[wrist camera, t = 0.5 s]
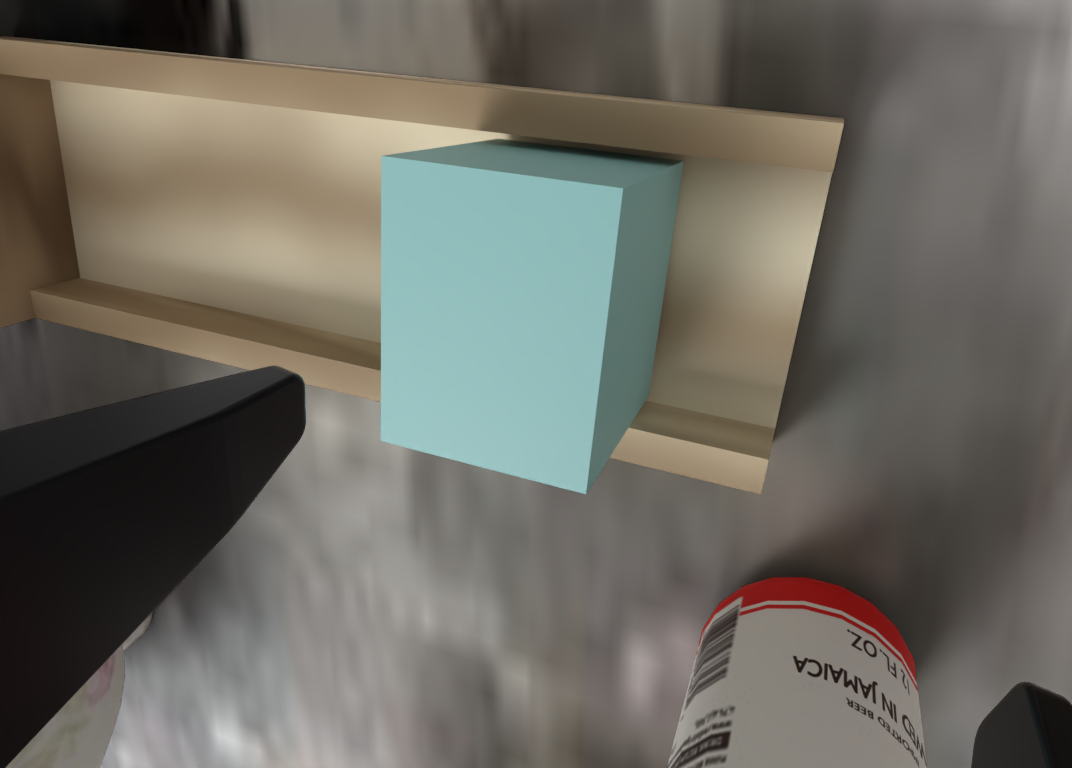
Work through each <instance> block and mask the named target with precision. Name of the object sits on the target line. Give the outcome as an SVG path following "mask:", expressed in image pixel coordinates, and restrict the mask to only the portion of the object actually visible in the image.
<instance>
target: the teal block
mask: <svg viewBox="0 0 1072 768" xmlns="http://www.w3.org/2000/svg"><path fill="white" fill-rule="evenodd" d="M683 164H684V161H681V160H673V159H665V158H656V157H648V156H640V155H631V154H623V153H615V152H607V151H598V150H590V149H582V148H573V147H565V146H557V145H549V144H540V143H532V142H524V141H515V140H507V139H493V140H486V141H479V142H472V143H466V144H459V145H452V146H445V147H438V148H432V149H425V150H418V151H411V152H404V153H397V154H391V155H384V156H381V441H383V442H387V443H390V444H394V445H398V446H402V447H406V448H410V449H414V450H417V451H421V452H425V453H429V454H433V455H437V456H440V457H444V458H448V459H452V460H456V461H460V462H464V463H467V464H471V465H475V466H479V467H483V468H487V469H490V470H494V471H498V472H502V473H506V474H510V475H513V476H517V477H521V478H525V479H529V480H533V481H537V482H540V483H544V484H548V485H552V486H556V487H560V488H563V489H567V490H571V491H575V492H579V493H583V494H587V492H588V490H589V489H590V487H591V486H592V484H593V483H594V481H595V479H596V478H597V476H598V475H599V473H600V472H601V470H602V468H603V467H604V465H605V464H606V462H607V461H608V459H609V457H610V456H611V454H612V453H613V451H614V450H615V448H616V446H617V445H618V443H619V442H620V440H621V439H622V437H623V435H624V434H625V432H626V431H627V429H628V428H629V426H630V424H631V423H632V421H633V420H634V418H635V417H636V415H637V413H638V412H639V410H640V409H641V407H642V406H643V404H644V402H645V401H646V399H647V398H648V396H649V391H650V384H651V378H652V371H653V364H654V358H655V351H656V344H657V337H658V331H659V324H660V317H661V311H662V304H663V297H664V291H665V284H666V277H667V271H668V264H669V257H670V251H671V244H672V237H673V230H674V224H675V217H676V210H677V204H678V197H679V190H680V184H681V177H682V170H683Z"/></svg>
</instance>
